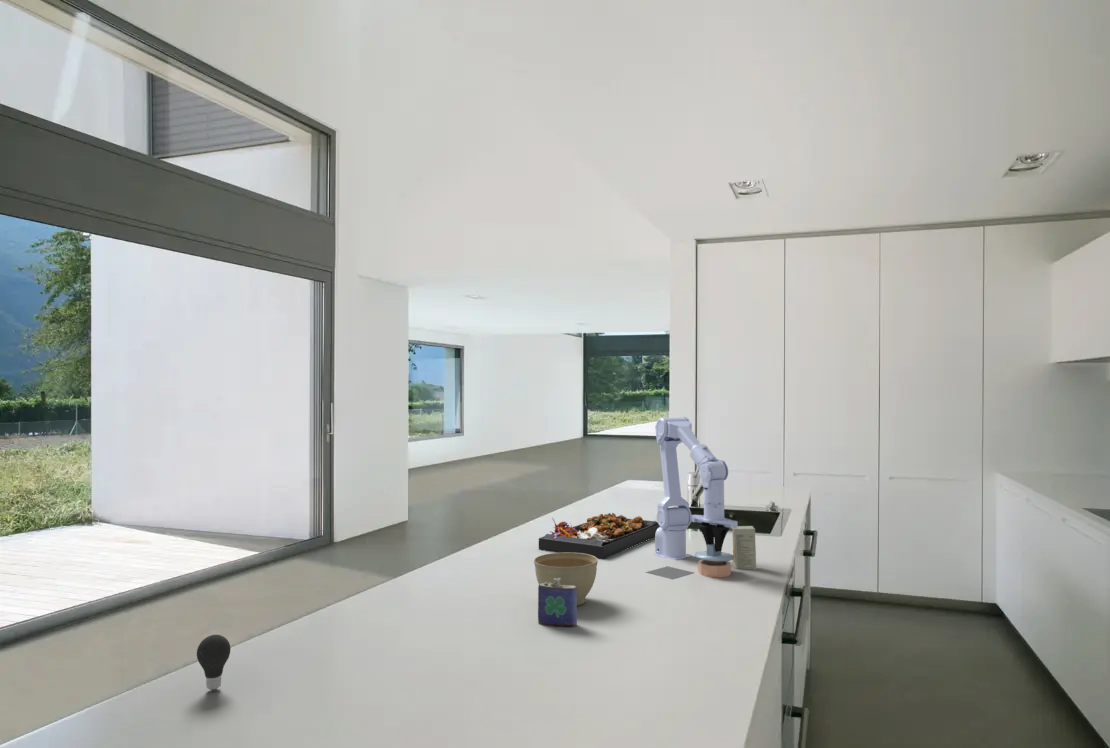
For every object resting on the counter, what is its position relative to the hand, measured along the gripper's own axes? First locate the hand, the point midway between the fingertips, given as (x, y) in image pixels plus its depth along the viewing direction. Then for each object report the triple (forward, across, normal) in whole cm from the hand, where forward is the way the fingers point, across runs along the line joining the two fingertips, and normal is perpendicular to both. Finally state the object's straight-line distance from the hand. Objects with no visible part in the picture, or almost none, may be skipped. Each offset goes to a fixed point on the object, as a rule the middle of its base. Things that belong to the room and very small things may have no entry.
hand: (714, 550), depth 210 cm
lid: (+2, 0, 0) cm, 2 cm away
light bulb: (+7, -15, -132) cm, 133 cm away
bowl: (+7, 0, 0) cm, 7 cm away
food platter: (+8, -52, +8) cm, 53 cm away
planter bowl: (+7, -10, -49) cm, 51 cm away
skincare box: (+7, +2, +12) cm, 14 cm away
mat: (+7, -9, -9) cm, 14 cm away
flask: (+7, +1, -62) cm, 62 cm away
